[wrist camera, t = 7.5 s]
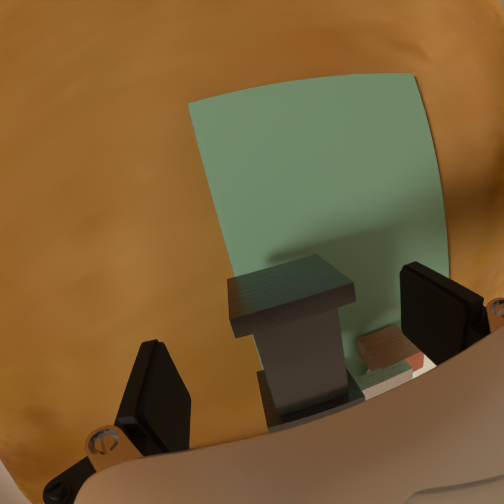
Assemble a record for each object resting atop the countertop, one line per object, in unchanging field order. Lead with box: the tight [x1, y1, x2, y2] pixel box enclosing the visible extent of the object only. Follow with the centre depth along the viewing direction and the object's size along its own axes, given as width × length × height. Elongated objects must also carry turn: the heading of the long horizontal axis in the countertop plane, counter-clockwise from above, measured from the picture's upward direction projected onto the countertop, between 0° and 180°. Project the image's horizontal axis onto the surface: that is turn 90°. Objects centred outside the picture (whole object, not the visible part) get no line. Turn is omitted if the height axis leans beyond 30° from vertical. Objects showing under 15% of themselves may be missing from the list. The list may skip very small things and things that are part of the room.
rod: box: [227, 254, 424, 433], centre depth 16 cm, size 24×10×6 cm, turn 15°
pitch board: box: [188, 73, 449, 379], centre depth 16 cm, size 25×15×4 cm, turn 15°
